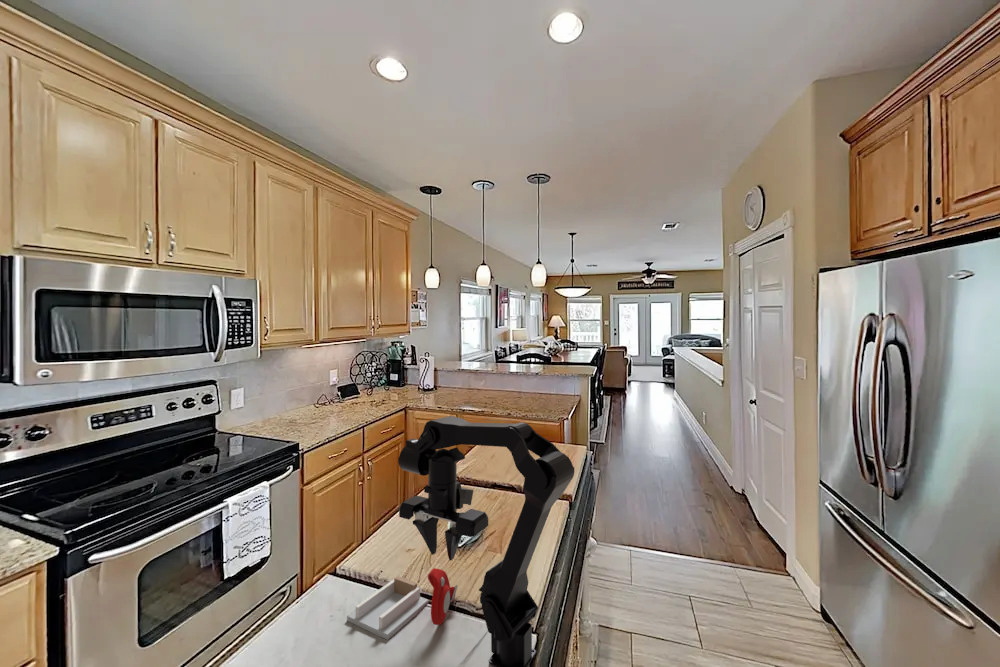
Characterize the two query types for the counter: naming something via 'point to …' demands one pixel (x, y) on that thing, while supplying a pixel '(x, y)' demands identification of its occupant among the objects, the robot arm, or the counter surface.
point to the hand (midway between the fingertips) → (442, 556)
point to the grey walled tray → (389, 608)
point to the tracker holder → (440, 595)
